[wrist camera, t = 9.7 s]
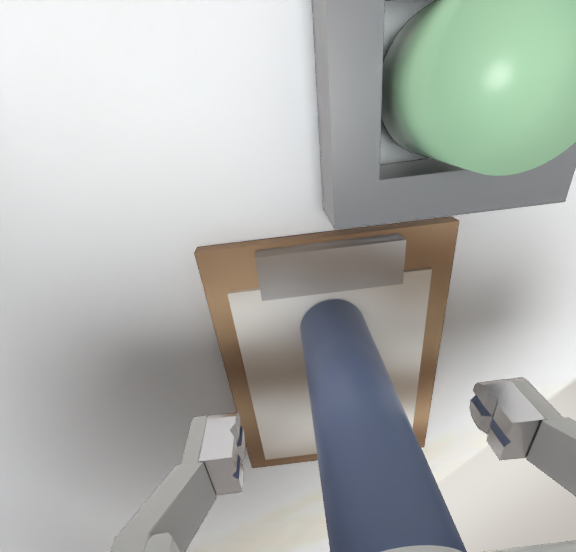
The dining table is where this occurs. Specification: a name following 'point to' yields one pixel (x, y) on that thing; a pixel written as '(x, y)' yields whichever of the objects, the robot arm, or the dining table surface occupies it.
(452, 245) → the clipboard
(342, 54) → the button housing
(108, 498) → the dining table surface
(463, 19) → the button
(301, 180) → the dining table surface
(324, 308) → the marker
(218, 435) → the robot arm
